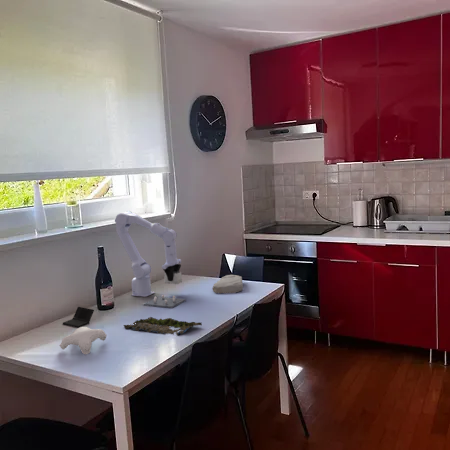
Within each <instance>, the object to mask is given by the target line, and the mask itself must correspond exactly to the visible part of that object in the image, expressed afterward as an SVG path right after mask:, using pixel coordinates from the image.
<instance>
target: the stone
mask: <svg viewBox="0 0 450 450" xmlns="http://www.w3.org/2000/svg"><path fill="white" fill-rule="evenodd" d="M243 287H244V285H243V277H242V276H240V275H236V274H226V275H225V276H222V277H221V278H220V279H219V280H217V281H216V282H214V283H213V286H212V292H213V293H214V294H217V293H220V294H219V295H221V293H224V294H233V293H234V294H236V292H237V293H239V292H242V291H243V289H244V288H243Z"/></svg>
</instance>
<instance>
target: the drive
mask: <svg viewBox="0 0 450 450" xmlns="http://www.w3.org/2000/svg"><path fill="white" fill-rule="evenodd" d="M182 274H183V273H182V271H179V272H178V271H173V281H168V278H167V275H166V273H165V271H164V272H163V280H164V281H163V282H164V284H168V285H169V284H170V285H179V284H181V283H183V278H182V276H183V275H182Z"/></svg>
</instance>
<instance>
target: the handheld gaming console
mask: <svg viewBox="0 0 450 450" xmlns="http://www.w3.org/2000/svg"><path fill="white" fill-rule="evenodd" d="M75 310H76V311H75V312H74V315H73V317H72V318H71V319H68V320H65V321H63V322H62V325H64V326H68V327H72V328H76V329H78V328H80V327H85V326H87V325H89V324H90V322H91V319H92V316H93V314H94V312H95V309H91V308H86V307H82V306H78V307H77V309H75Z"/></svg>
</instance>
